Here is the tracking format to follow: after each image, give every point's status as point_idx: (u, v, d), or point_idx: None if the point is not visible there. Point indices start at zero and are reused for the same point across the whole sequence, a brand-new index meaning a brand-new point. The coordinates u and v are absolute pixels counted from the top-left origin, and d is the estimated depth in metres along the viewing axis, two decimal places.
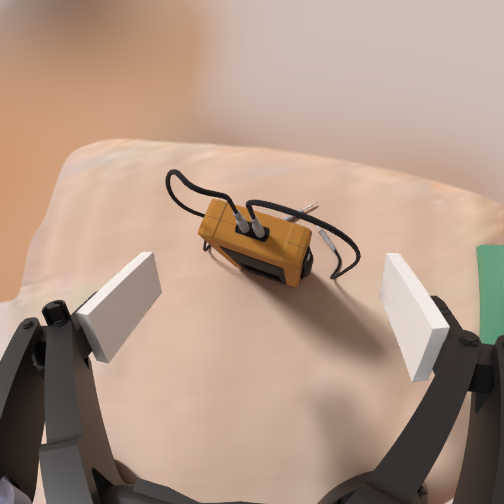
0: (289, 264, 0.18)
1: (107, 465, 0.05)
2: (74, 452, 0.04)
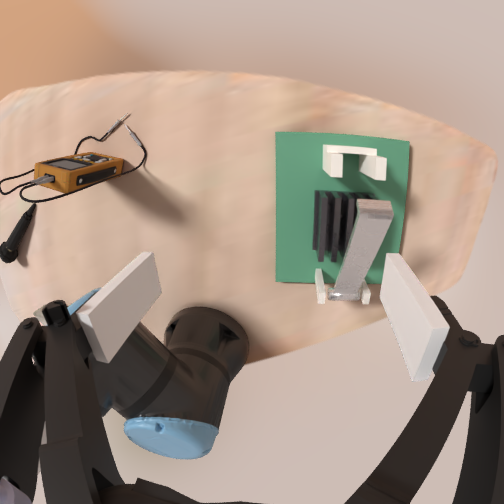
0: (64, 192, 0.28)
1: (107, 465, 0.05)
2: (74, 452, 0.04)
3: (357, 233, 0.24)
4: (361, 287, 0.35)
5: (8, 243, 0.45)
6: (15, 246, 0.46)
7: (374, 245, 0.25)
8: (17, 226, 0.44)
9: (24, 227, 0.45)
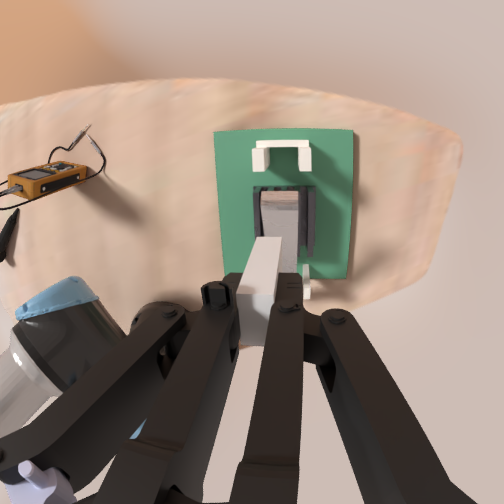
0: (30, 200, 0.30)
1: (194, 476, 0.06)
2: (159, 468, 0.04)
3: (266, 226, 0.25)
4: (303, 282, 0.36)
5: None
6: (3, 247, 0.48)
7: (290, 237, 0.26)
8: (3, 229, 0.46)
9: (9, 230, 0.47)
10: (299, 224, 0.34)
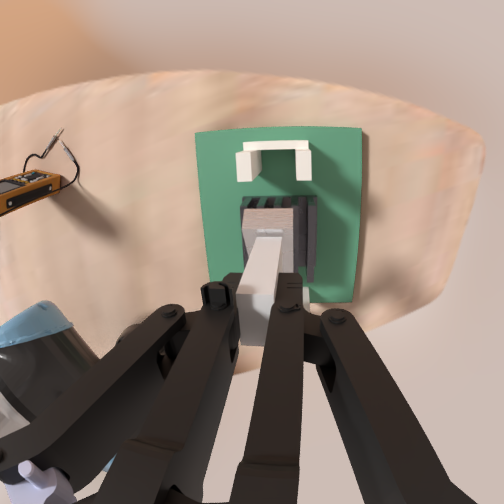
0: None
1: (194, 476, 0.06)
2: (159, 467, 0.04)
3: None
4: None
5: None
6: None
7: (284, 267, 0.20)
8: None
9: None
10: (297, 244, 0.28)
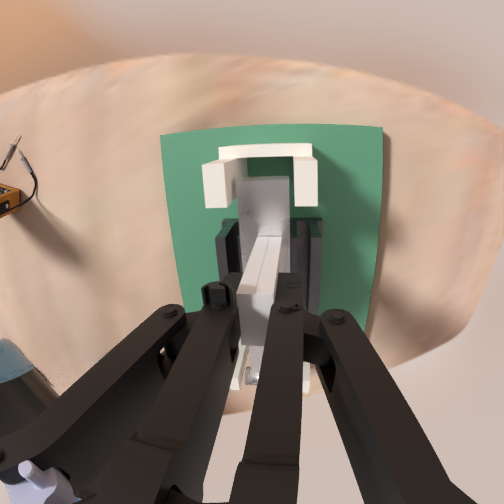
0: None
1: (194, 477, 0.06)
2: (159, 468, 0.04)
3: (244, 225, 0.17)
4: None
5: None
6: None
7: None
8: None
9: None
10: None
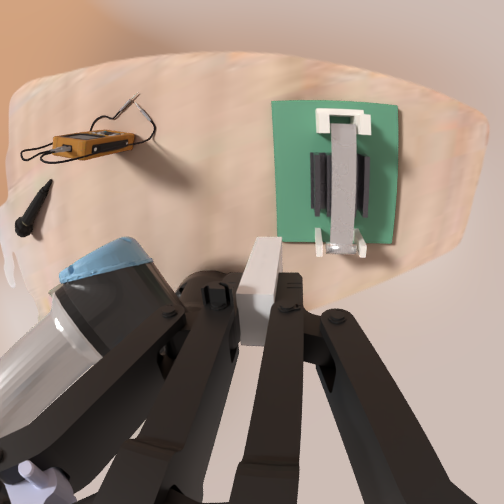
0: (80, 159, 0.31)
1: (194, 477, 0.06)
2: (159, 468, 0.04)
3: (334, 145, 0.31)
4: (358, 242, 0.37)
5: (24, 218, 0.50)
6: (30, 220, 0.51)
7: (351, 160, 0.31)
8: (33, 201, 0.49)
9: (40, 202, 0.49)
10: (356, 186, 0.34)
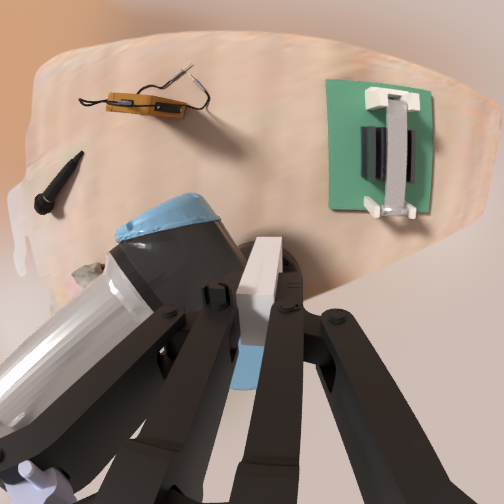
0: (143, 114, 0.31)
1: (194, 476, 0.06)
2: (159, 468, 0.04)
3: (389, 117, 0.32)
4: None
5: (46, 193, 0.49)
6: (53, 196, 0.50)
7: (403, 131, 0.33)
8: (59, 174, 0.48)
9: (67, 175, 0.49)
10: None
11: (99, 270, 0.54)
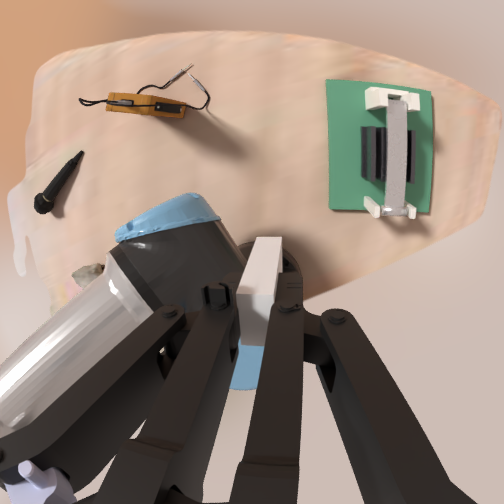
0: (143, 114, 0.31)
1: (194, 476, 0.06)
2: (159, 468, 0.04)
3: (389, 117, 0.32)
4: None
5: (46, 192, 0.49)
6: (53, 195, 0.50)
7: (403, 131, 0.33)
8: (59, 174, 0.48)
9: (67, 175, 0.49)
10: None
11: (99, 270, 0.54)
